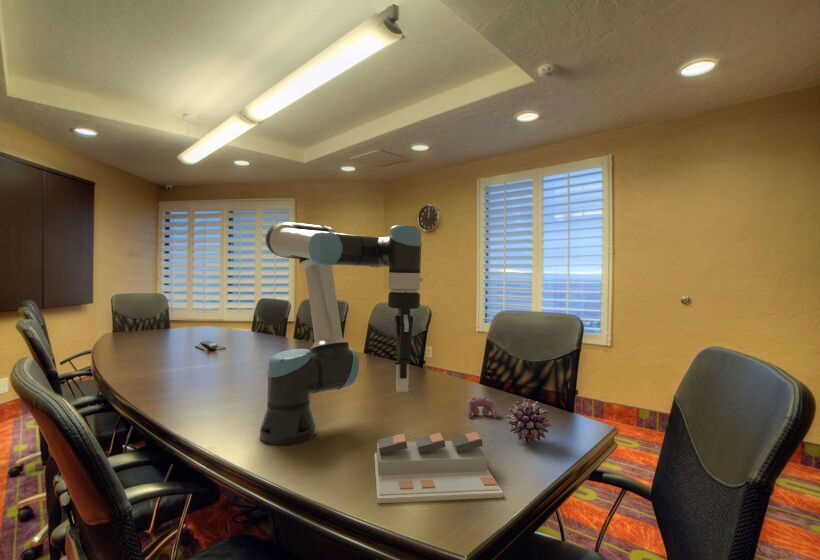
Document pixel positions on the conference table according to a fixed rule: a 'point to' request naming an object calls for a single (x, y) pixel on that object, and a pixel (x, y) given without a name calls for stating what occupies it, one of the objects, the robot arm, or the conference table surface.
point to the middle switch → (430, 442)
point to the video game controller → (480, 402)
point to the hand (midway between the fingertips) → (402, 390)
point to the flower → (528, 421)
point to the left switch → (392, 444)
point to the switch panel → (433, 475)
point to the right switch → (466, 441)
